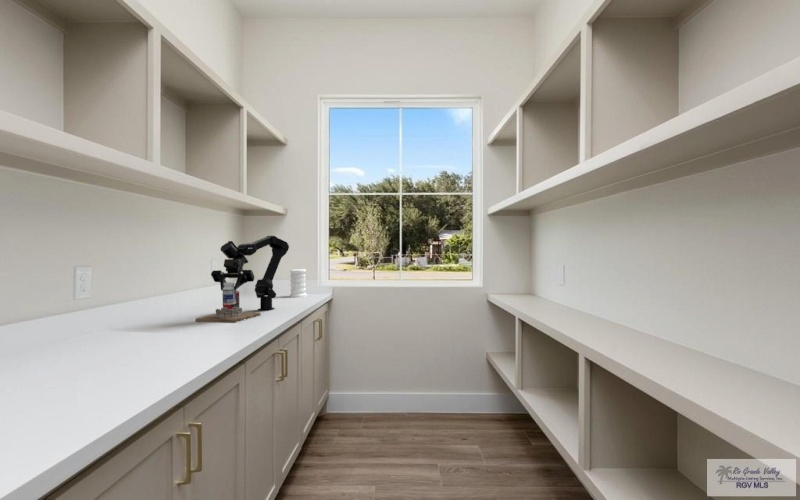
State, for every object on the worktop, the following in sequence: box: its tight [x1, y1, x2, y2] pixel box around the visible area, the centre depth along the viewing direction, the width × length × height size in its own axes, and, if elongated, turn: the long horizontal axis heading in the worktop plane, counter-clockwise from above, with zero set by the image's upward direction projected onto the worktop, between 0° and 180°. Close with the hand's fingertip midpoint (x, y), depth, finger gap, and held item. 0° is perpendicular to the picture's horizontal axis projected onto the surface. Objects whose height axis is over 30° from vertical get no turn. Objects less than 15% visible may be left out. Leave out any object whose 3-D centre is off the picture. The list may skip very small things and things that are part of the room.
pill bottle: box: [222, 281, 237, 305], centre depth 194 cm, size 6×6×10 cm
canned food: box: [222, 289, 240, 309], centre depth 212 cm, size 8×8×11 cm
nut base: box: [194, 306, 261, 323], centre depth 194 cm, size 20×20×4 cm
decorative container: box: [289, 269, 308, 298], centre depth 286 cm, size 12×12×18 cm
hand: (228, 289), depth 193 cm, fingers closed on pill bottle, 6 cm apart
